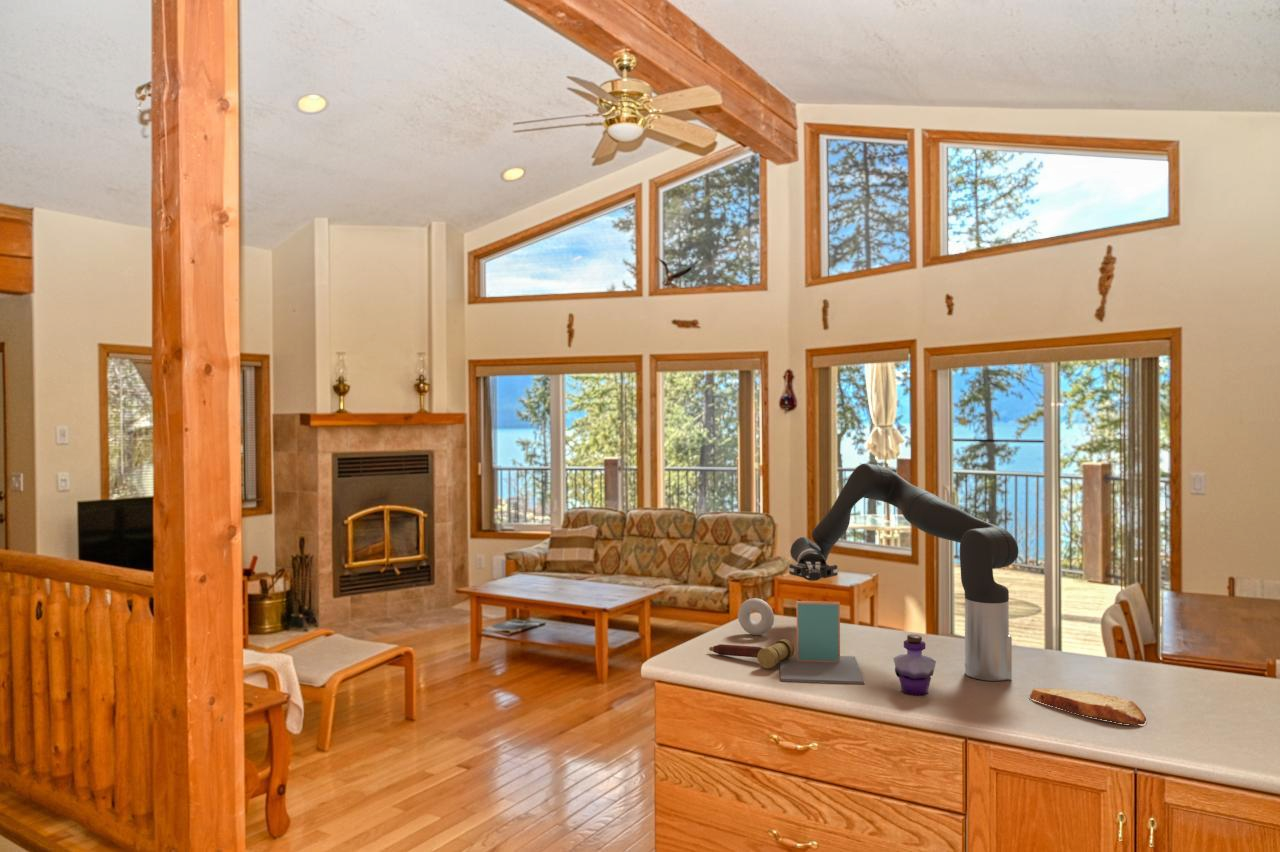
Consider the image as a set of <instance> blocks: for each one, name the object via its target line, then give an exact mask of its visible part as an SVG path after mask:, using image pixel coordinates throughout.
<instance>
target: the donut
mask: <svg viewBox="0 0 1280 852" xmlns="http://www.w3.org/2000/svg"><path fill="white" fill-rule="evenodd" d="M752 612H758V613H759V614H760V617H761V620H760V621H759V622H755V621H753V620H752V618H751V613H752ZM737 618H738V622H739V625H740V627H741V628H742V629H743V631H745V632H746V633H748V634H749V635H753V636H762V635H765V634H767V633H768V632H769V631H770V630H772V627H773V625H774V622H775V615H774V611H773V609H772V607H771V606H770V604H768V602H766V601H765V600H763V599H761V598H758V597H754V598H748V599H747V600H744V601H743V602H742V603H741V604H740V606H739V609H738V613H737Z"/></svg>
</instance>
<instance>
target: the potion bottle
mask: <svg viewBox="0 0 1280 852" xmlns="http://www.w3.org/2000/svg"><path fill="white" fill-rule="evenodd" d="M903 648H905V649H906V650H907V653H905V654H904V653H903V654H899V655H896V656H894V657H893V658H892V659H893V662H894V666H895V667H894V672H895V675H896V677H898V680H899V684H900V689H901V691H900V692H902V693H903V694H904V695H908V696H912V697H925V696H927V695H928V694H929V689H930V683H931V680H932V676H934V671H935V668H936V663H937V661H936V660H934V659H933V658H932V657H930V656H927V655H923V653H922V651H924V650H925V649H926V642H925V641H923V637H922V636H921V635H918V634H908V635H906V640H904V641H903Z"/></svg>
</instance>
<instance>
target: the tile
mask: <svg viewBox="0 0 1280 852" xmlns="http://www.w3.org/2000/svg"><path fill="white" fill-rule="evenodd" d="M840 607H841V603H840V601H818V600H817V601H814V600H813V601H812V600H809V601H808V600H796V654H797V661H807V662H837V663H840V656H841V616H840V615H841V608H840Z"/></svg>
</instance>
